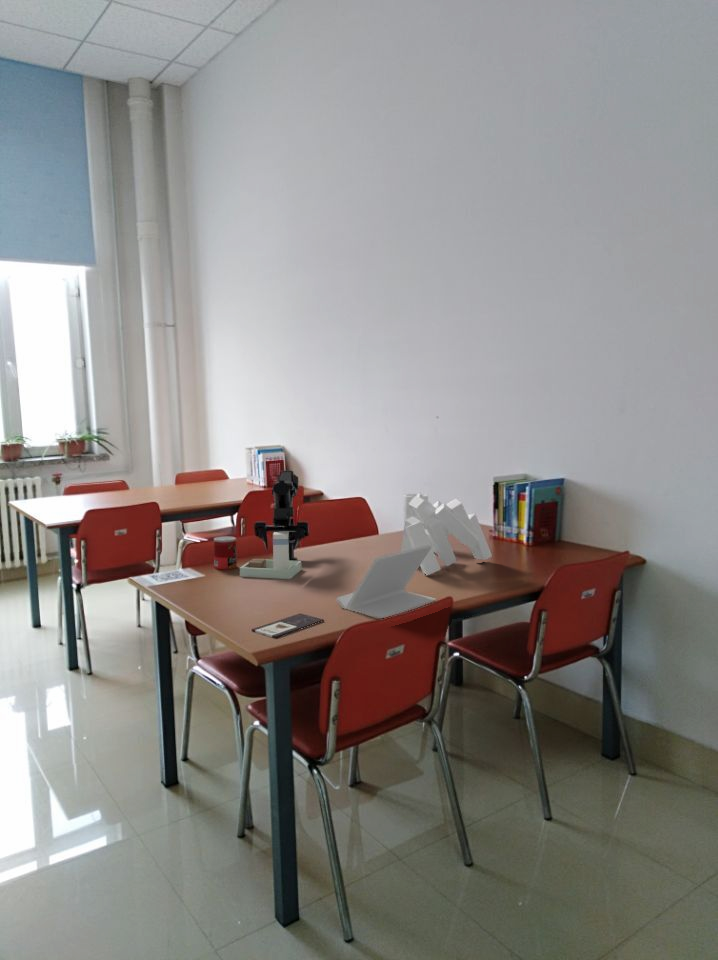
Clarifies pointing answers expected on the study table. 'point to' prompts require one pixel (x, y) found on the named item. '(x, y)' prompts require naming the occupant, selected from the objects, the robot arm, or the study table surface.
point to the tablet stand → (388, 586)
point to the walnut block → (257, 563)
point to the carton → (281, 550)
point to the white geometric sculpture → (442, 532)
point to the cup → (407, 509)
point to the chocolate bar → (286, 625)
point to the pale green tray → (271, 570)
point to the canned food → (225, 553)
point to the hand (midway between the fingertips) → (280, 549)
